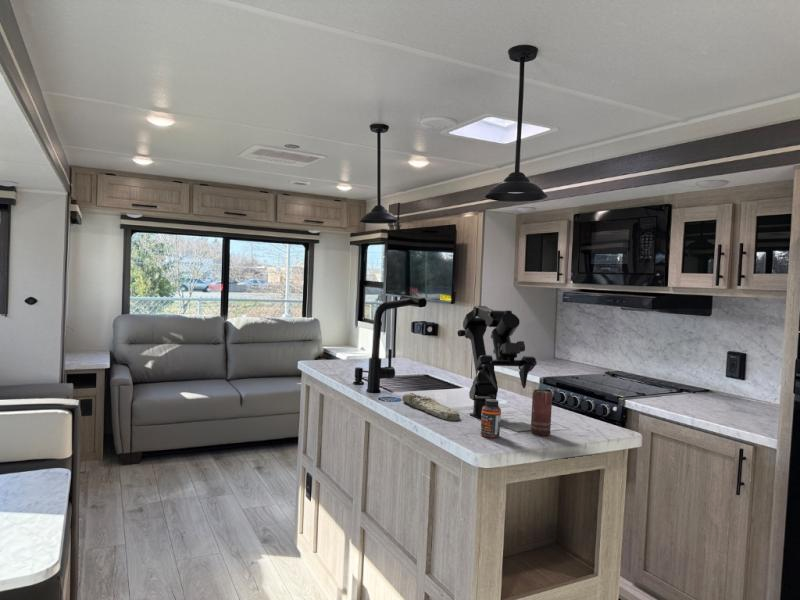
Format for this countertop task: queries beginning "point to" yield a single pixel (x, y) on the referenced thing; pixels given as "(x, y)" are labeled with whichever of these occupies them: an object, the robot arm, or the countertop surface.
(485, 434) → the supplement bottle
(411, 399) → the elongated rock
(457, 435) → the countertop surface
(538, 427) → the can
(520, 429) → the mat
